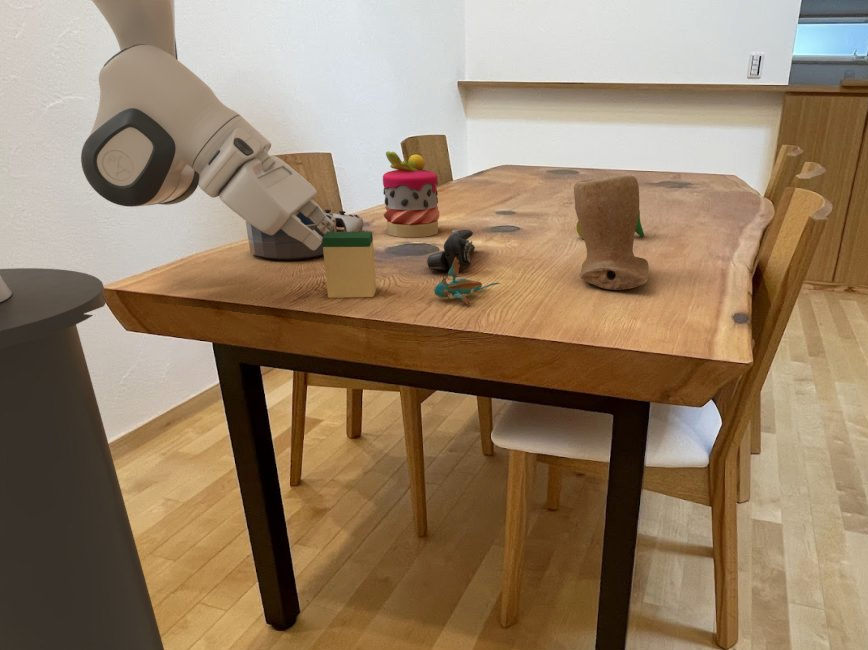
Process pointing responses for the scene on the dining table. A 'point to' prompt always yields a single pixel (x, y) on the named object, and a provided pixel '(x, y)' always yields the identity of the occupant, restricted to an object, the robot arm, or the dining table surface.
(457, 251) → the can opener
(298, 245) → the bowl
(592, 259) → the brown clay sculpture
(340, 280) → the sponge
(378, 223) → the dining table surface
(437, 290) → the dragon figurine
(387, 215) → the cake
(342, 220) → the gaming controller
